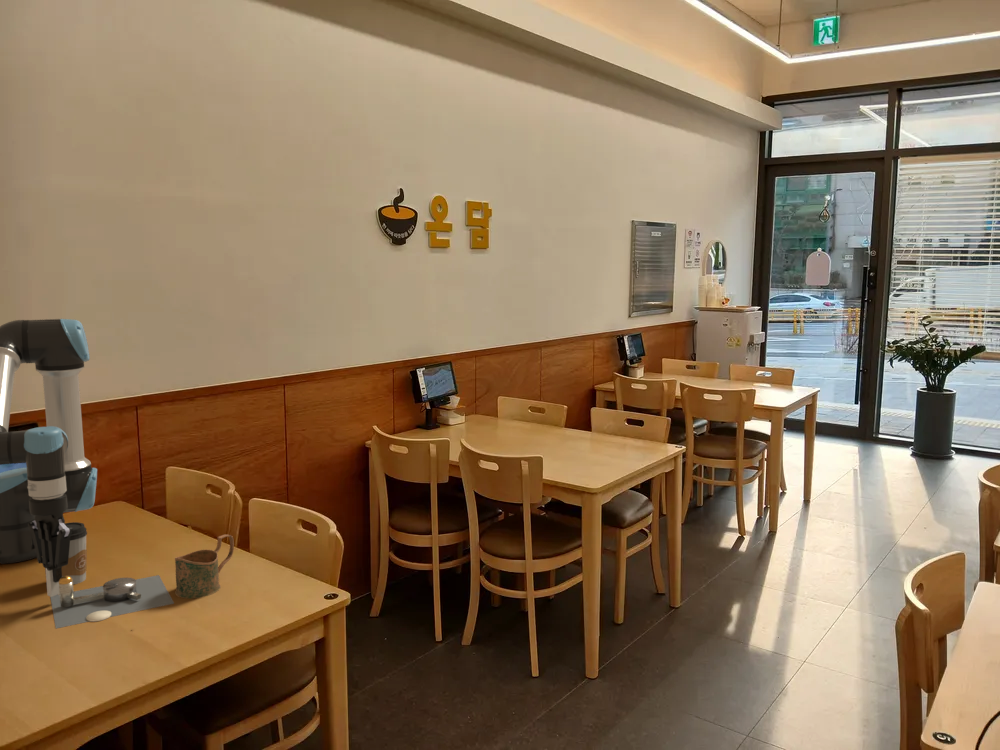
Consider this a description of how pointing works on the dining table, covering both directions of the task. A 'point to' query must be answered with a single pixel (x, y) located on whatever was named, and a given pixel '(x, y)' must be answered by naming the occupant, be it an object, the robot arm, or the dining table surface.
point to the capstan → (111, 592)
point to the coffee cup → (76, 553)
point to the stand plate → (110, 603)
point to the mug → (200, 571)
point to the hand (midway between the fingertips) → (55, 593)
